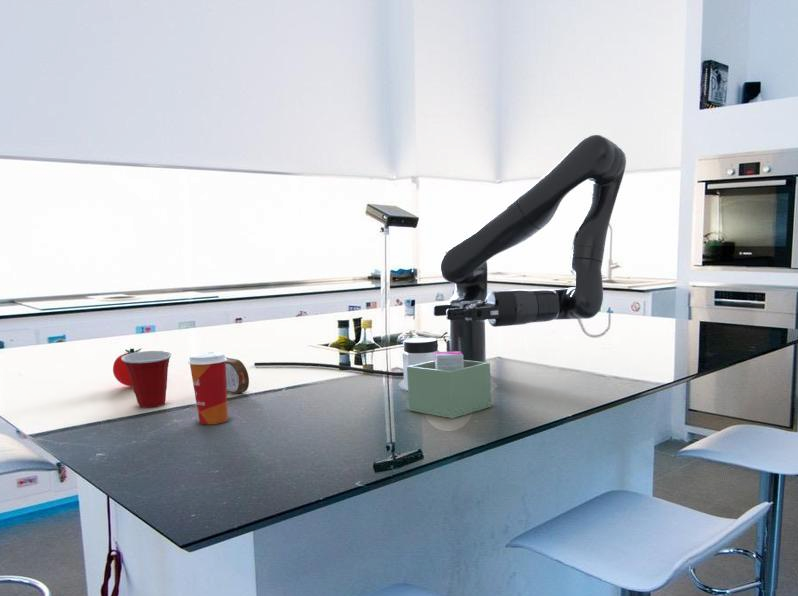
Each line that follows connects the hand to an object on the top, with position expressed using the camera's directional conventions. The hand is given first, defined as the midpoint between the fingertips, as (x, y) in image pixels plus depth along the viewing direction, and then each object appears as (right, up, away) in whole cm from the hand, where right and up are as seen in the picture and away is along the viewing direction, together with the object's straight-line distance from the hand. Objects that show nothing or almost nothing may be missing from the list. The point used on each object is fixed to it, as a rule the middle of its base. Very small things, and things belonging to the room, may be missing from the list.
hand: (440, 312), depth 156 cm
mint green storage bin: (+2, -20, +4) cm, 21 cm away
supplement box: (+2, -20, +4) cm, 20 cm away
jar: (-5, -16, +25) cm, 30 cm away
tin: (-53, -17, +32) cm, 64 cm away
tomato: (-81, -16, +44) cm, 93 cm away
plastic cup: (-67, -20, +19) cm, 73 cm away
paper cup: (-47, -23, +1) cm, 52 cm away
